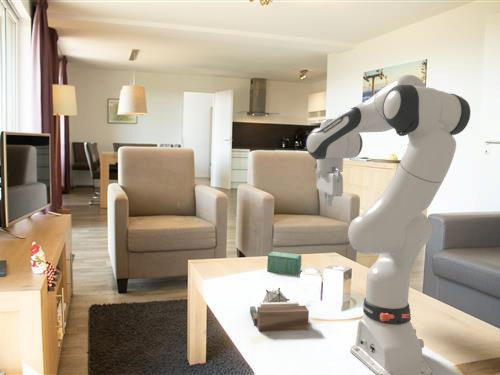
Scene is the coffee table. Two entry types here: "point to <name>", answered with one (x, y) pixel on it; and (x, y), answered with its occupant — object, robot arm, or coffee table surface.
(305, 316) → the brown piece
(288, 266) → the box
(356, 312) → the coffee table surface
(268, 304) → the pad
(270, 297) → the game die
